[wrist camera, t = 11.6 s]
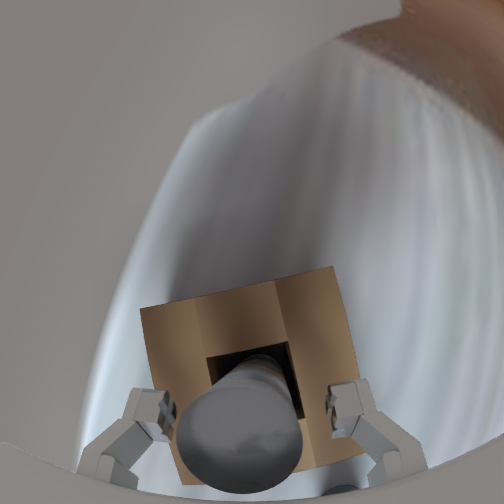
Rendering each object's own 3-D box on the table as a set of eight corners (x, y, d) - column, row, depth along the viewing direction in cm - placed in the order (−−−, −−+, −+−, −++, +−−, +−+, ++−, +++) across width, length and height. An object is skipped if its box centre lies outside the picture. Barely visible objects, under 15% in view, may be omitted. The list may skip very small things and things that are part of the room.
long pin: (277, 349, 21) (288, 374, 7) (287, 394, 20) (312, 482, 6) (231, 359, 21) (163, 395, 7) (241, 403, 20) (194, 497, 6)
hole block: (319, 281, 22) (332, 265, 17) (352, 428, 18) (372, 450, 13) (166, 315, 22) (139, 308, 17) (200, 458, 18) (182, 485, 13)
